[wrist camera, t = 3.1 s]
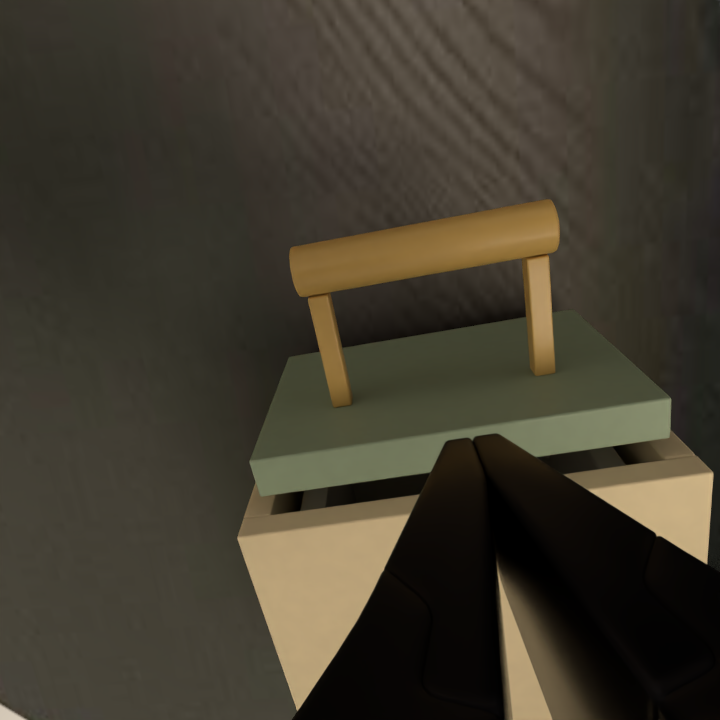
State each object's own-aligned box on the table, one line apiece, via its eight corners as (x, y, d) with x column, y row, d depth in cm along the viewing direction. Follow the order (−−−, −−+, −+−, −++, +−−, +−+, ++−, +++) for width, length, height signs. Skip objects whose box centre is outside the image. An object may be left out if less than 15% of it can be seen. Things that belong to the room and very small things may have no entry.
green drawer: (255, 231, 19) (191, 284, 13) (567, 170, 18) (679, 195, 12) (352, 602, 26) (344, 766, 19) (584, 574, 25) (661, 736, 18)
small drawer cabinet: (287, 387, 23) (235, 538, 14) (582, 339, 22) (715, 472, 13) (352, 629, 28) (342, 842, 20) (592, 601, 27) (690, 814, 19)
